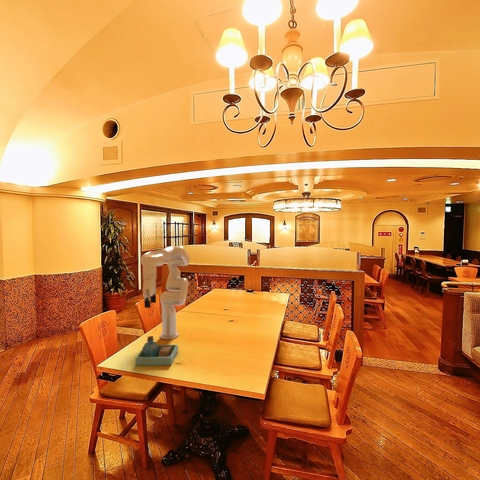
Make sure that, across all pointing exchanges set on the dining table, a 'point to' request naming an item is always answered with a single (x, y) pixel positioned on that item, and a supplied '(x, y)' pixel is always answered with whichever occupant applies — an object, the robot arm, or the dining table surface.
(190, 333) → the dining table surface
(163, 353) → the walnut cube
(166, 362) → the tote
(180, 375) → the dining table surface
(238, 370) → the dining table surface
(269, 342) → the dining table surface
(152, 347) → the perfume bottle
